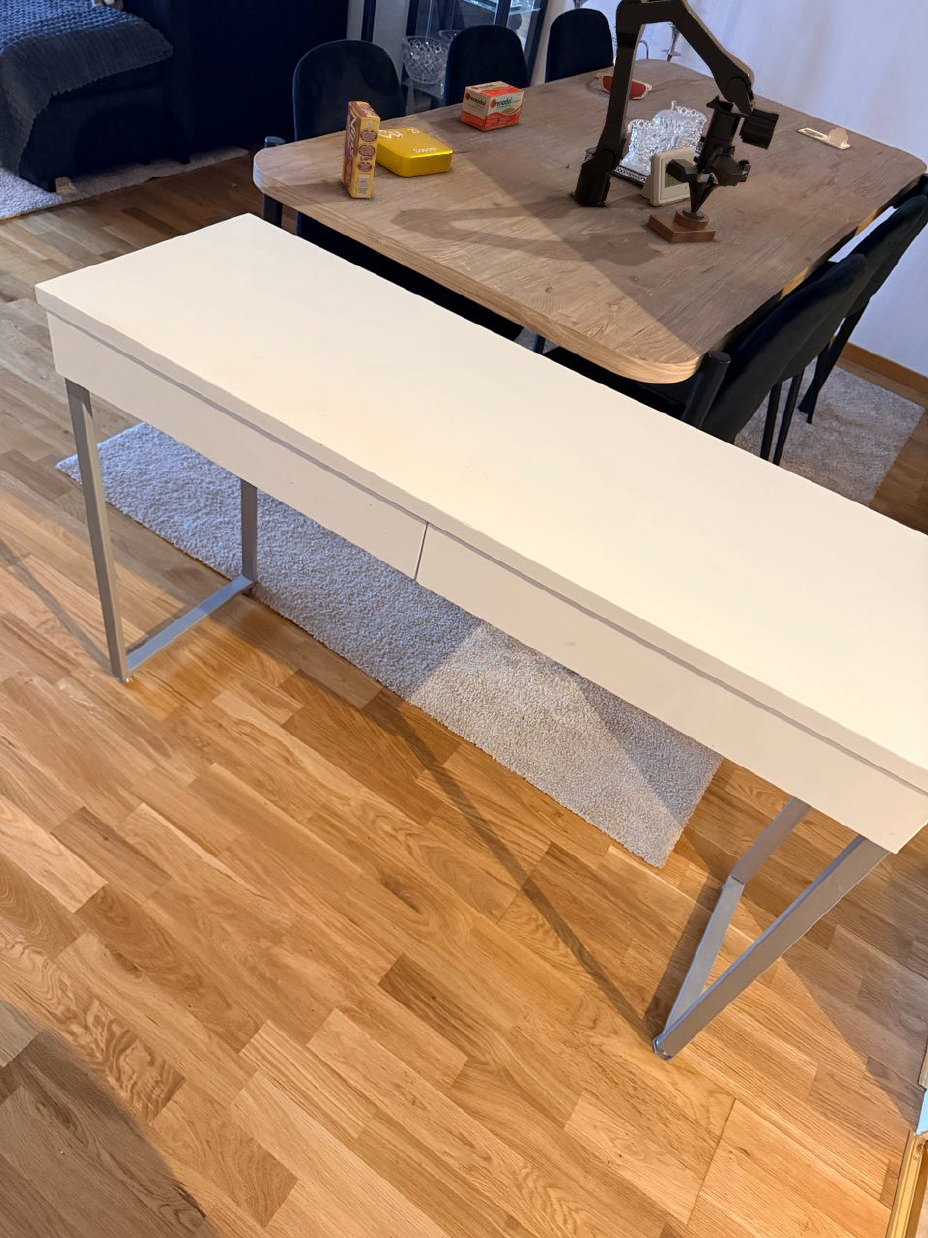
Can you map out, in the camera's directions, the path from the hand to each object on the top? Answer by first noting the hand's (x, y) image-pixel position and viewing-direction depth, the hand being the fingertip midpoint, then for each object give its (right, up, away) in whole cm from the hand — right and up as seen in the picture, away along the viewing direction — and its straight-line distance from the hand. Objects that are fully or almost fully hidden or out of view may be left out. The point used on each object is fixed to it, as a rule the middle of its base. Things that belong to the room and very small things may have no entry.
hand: (693, 211), depth 201 cm
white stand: (+60, +57, +79) cm, 115 cm away
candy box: (-72, -2, -13) cm, 74 cm away
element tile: (-63, +12, +4) cm, 64 cm away
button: (0, -1, +1) cm, 2 cm away
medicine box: (-44, +37, +33) cm, 66 cm away
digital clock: (-3, +10, +16) cm, 19 cm away
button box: (-3, -4, +2) cm, 5 cm away
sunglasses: (-2, +72, +79) cm, 106 cm away
